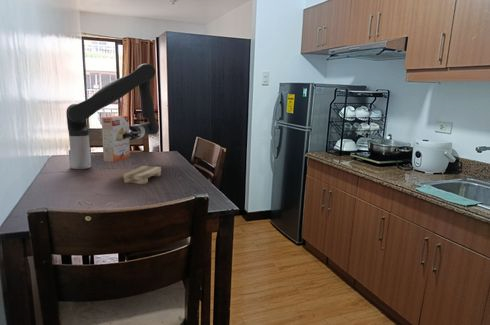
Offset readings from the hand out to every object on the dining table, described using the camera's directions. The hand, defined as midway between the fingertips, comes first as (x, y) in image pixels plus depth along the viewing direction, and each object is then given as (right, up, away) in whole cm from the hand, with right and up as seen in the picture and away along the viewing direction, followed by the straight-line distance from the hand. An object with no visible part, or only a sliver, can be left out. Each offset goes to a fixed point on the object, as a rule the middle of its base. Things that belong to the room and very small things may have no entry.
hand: (117, 135), depth 155 cm
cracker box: (-1, -12, +2) cm, 12 cm away
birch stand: (+13, -20, -1) cm, 24 cm away
